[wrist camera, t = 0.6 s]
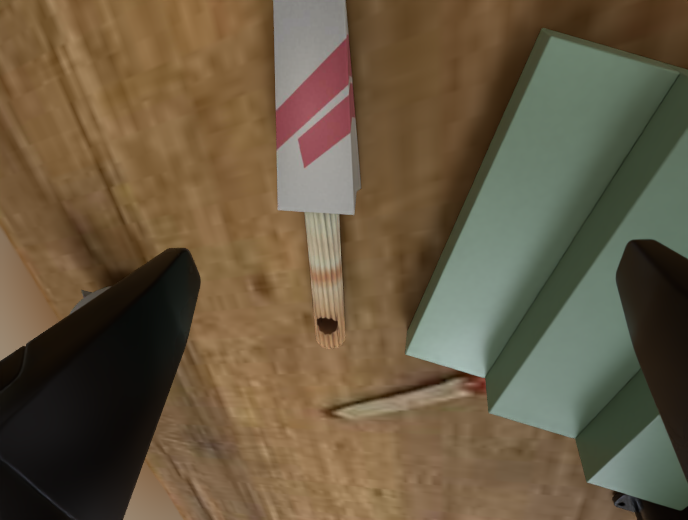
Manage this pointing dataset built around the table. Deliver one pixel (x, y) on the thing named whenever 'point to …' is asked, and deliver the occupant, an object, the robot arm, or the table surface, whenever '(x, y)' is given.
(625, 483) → the staircase
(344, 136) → the paintbrush
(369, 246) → the table surface
